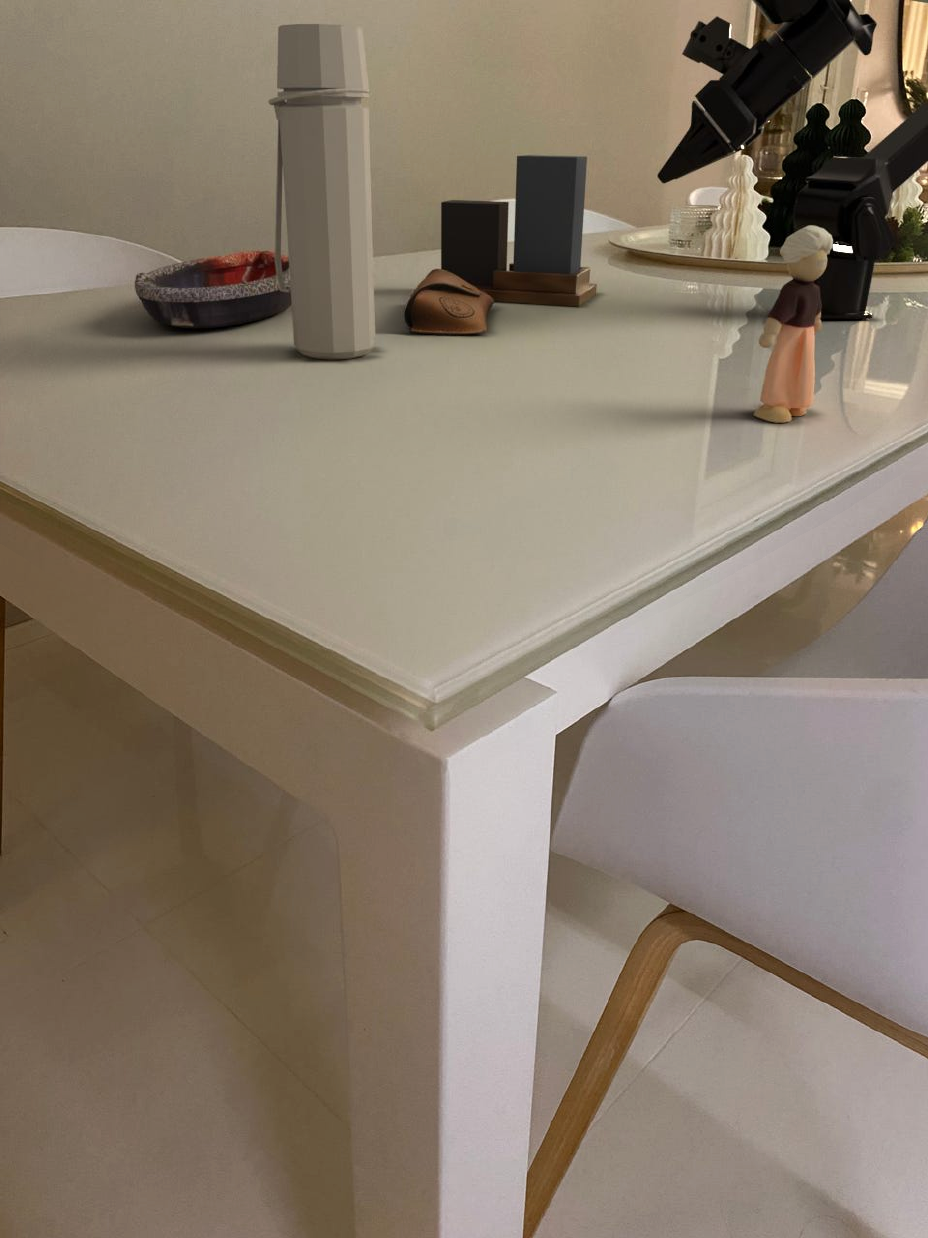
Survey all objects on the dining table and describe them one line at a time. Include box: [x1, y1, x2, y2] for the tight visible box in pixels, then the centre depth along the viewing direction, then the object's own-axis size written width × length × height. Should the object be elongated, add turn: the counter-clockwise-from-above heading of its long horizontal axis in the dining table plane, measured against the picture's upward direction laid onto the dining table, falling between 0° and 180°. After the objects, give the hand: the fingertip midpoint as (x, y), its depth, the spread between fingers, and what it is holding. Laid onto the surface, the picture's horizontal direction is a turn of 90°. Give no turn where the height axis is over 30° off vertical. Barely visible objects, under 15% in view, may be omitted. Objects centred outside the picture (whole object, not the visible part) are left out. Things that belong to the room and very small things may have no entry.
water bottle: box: [267, 23, 376, 361], centre depth 84 cm, size 9×8×25 cm
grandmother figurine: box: [753, 226, 834, 424], centre depth 70 cm, size 8×4×13 cm, turn 148°
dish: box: [134, 250, 292, 329], centre depth 107 cm, size 16×31×5 cm, turn 171°
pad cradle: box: [440, 199, 598, 308], centre depth 118 cm, size 18×10×10 cm, turn 72°
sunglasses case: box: [403, 268, 495, 336], centre depth 105 cm, size 18×7×7 cm
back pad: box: [512, 154, 588, 274], centre depth 116 cm, size 7×4×14 cm, turn 68°
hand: (666, 177), depth 104 cm, fingers open, 9 cm apart
